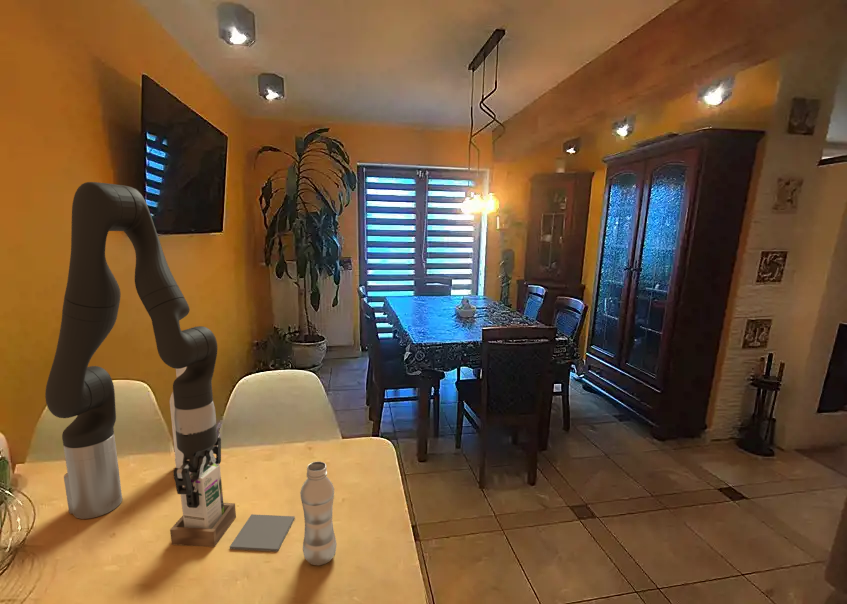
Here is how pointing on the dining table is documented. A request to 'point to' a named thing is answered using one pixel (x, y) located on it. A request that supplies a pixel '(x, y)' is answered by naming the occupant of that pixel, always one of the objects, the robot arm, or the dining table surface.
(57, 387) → the robot arm
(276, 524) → the coaster
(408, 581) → the dining table surface
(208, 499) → the syrup box
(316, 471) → the plastic bottle
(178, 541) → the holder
